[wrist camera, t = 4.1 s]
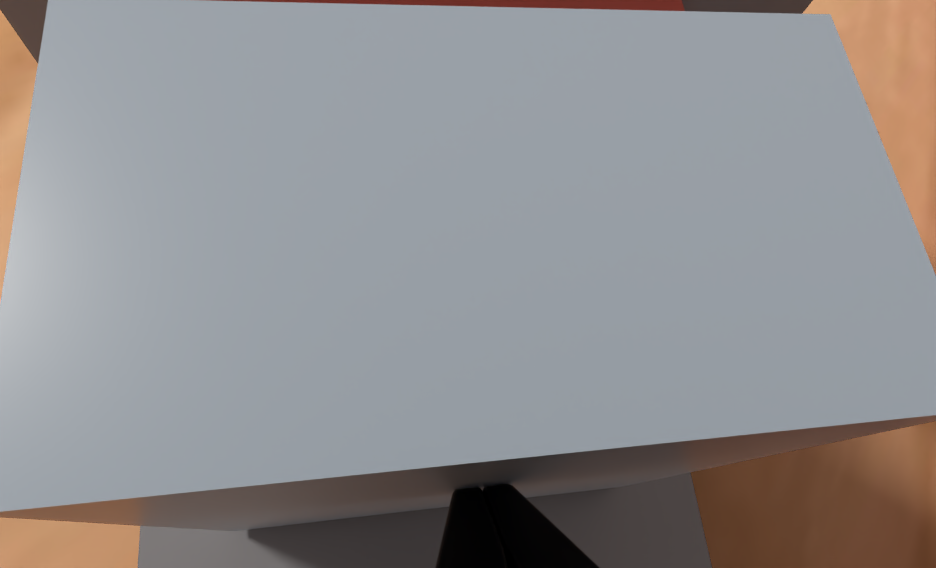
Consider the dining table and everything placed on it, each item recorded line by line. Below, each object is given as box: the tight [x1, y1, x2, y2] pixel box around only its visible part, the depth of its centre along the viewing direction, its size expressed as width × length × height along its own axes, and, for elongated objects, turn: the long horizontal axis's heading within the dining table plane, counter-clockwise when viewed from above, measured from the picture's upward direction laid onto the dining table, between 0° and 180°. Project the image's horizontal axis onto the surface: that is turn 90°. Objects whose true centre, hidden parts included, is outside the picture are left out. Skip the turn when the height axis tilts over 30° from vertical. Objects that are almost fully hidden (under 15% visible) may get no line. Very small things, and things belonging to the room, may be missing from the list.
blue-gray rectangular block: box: [0, 0, 936, 531], centre depth 11 cm, size 5×9×10 cm, turn 96°
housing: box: [0, 0, 813, 568], centre depth 12 cm, size 15×13×12 cm
